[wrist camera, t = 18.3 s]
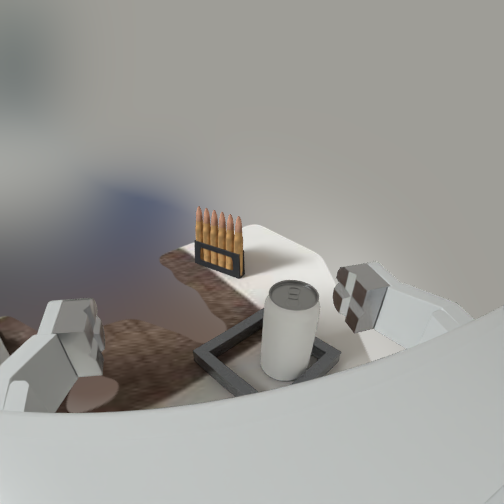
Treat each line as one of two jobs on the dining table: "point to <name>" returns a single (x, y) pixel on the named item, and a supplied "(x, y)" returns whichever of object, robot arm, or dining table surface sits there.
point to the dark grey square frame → (238, 333)
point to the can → (289, 329)
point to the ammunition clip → (219, 244)
